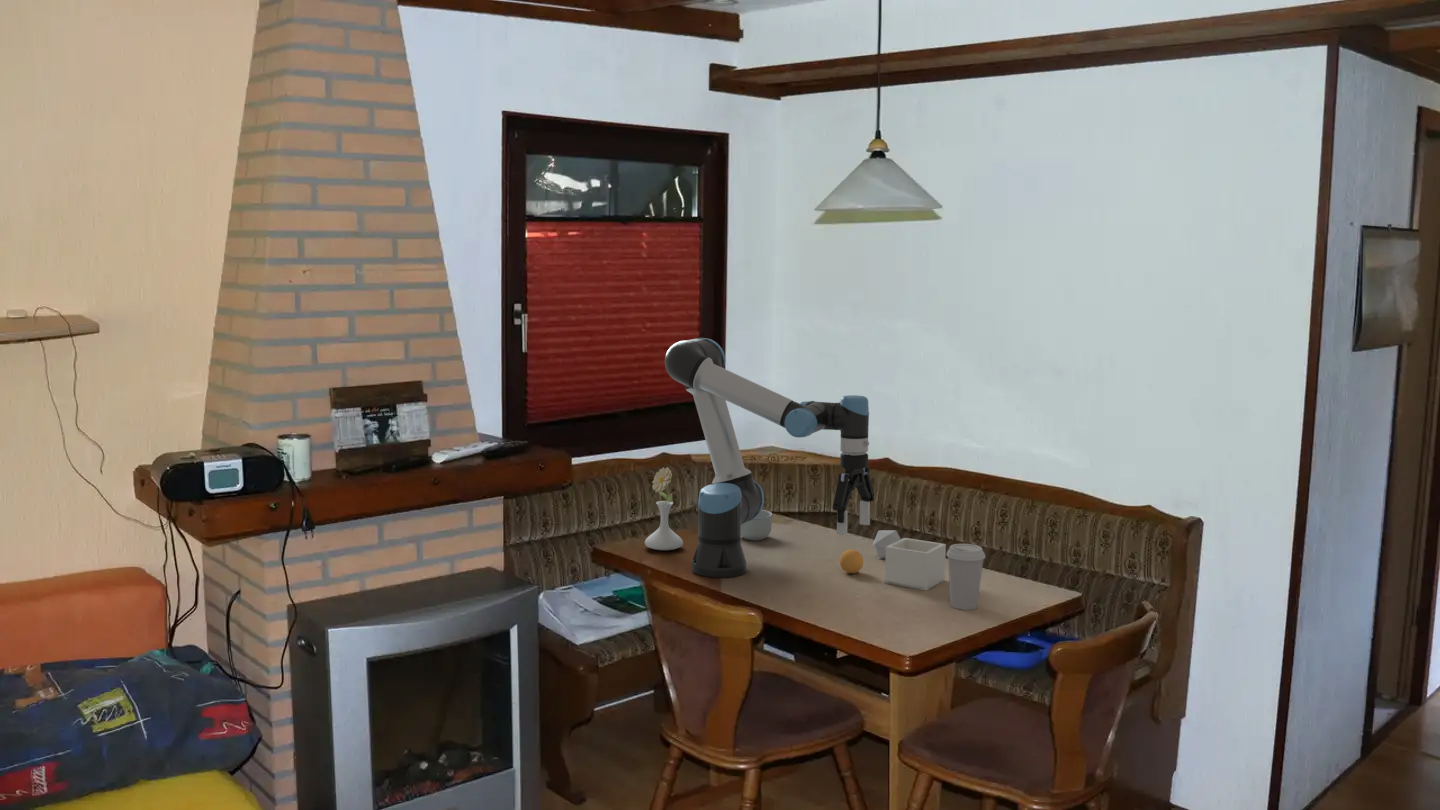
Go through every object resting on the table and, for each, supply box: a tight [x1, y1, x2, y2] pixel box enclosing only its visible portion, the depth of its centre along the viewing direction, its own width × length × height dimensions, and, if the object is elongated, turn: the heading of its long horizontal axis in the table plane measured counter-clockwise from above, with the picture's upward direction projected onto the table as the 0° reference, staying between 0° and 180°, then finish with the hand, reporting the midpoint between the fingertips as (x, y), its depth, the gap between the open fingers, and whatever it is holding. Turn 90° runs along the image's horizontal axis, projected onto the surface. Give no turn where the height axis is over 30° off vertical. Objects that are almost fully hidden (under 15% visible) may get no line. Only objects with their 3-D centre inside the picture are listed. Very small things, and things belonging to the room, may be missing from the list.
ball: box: [839, 549, 864, 574], centre depth 322 cm, size 6×6×6 cm
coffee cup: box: [945, 543, 986, 611], centre depth 292 cm, size 10×10×15 cm
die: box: [872, 529, 902, 560], centre depth 339 cm, size 8×9×10 cm
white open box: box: [884, 537, 947, 592], centre depth 314 cm, size 12×12×10 cm
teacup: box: [741, 509, 773, 541], centre depth 361 cm, size 14×11×8 cm
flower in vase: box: [644, 467, 684, 551], centre depth 344 cm, size 13×11×25 cm
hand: (853, 529), depth 321 cm, fingers open, 13 cm apart
